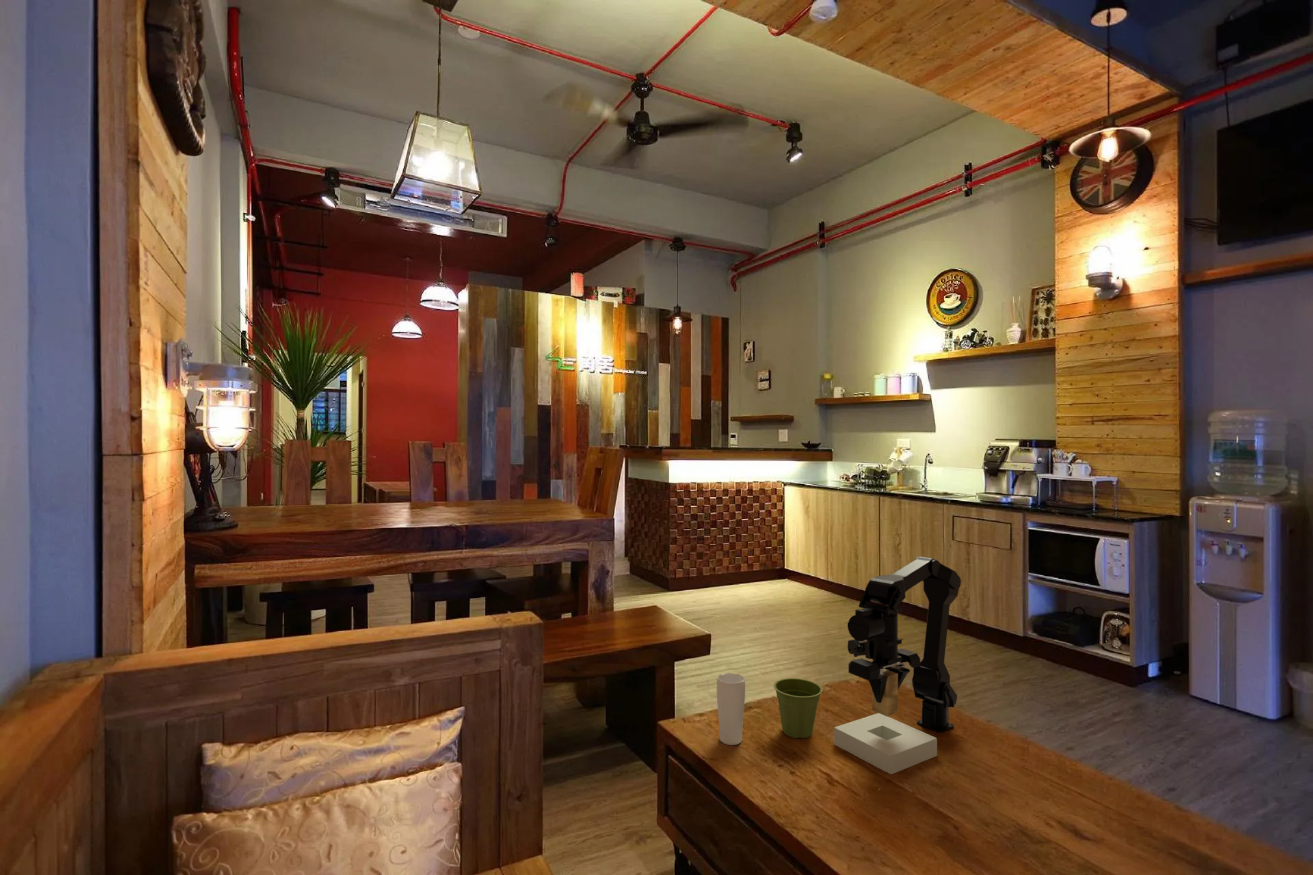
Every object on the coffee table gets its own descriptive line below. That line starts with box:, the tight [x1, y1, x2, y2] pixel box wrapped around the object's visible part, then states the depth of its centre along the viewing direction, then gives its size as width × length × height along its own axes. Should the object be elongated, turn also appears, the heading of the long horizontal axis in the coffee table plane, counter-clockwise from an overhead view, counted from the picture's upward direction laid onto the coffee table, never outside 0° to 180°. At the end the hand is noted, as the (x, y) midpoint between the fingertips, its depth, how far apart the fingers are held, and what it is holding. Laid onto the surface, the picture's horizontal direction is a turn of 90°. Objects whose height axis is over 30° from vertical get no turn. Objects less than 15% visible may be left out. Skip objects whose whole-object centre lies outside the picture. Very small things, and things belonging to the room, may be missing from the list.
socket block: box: [833, 712, 938, 775], centre depth 146 cm, size 16×16×4 cm
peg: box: [871, 669, 899, 717], centre depth 146 cm, size 4×4×9 cm
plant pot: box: [773, 677, 823, 739], centre depth 155 cm, size 12×12×11 cm
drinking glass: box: [716, 672, 746, 746], centre depth 150 cm, size 7×7×15 cm
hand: (884, 700), depth 146 cm, fingers closed on peg, 4 cm apart
